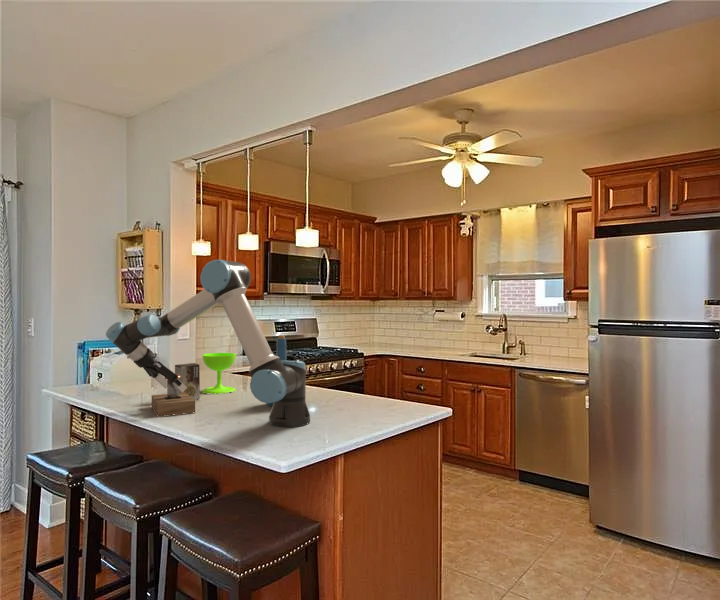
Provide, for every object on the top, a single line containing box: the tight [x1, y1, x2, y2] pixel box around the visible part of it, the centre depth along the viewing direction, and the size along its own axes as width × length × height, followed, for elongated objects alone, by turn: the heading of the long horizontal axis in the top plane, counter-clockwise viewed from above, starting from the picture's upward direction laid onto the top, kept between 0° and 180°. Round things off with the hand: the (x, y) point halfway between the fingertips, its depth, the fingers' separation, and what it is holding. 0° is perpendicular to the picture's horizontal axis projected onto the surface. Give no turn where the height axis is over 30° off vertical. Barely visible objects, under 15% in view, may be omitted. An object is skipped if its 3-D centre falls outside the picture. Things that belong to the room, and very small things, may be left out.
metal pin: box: [164, 375, 181, 400], centre depth 218 cm, size 6×6×13 cm
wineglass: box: [201, 352, 237, 395], centre depth 261 cm, size 16×16×18 cm
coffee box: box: [174, 362, 201, 401], centre depth 238 cm, size 9×6×16 cm
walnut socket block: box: [151, 392, 196, 417], centre depth 218 cm, size 20×14×5 cm
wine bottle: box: [265, 334, 288, 408], centre depth 229 cm, size 14×13×30 cm
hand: (175, 387), depth 219 cm, fingers open, 13 cm apart
